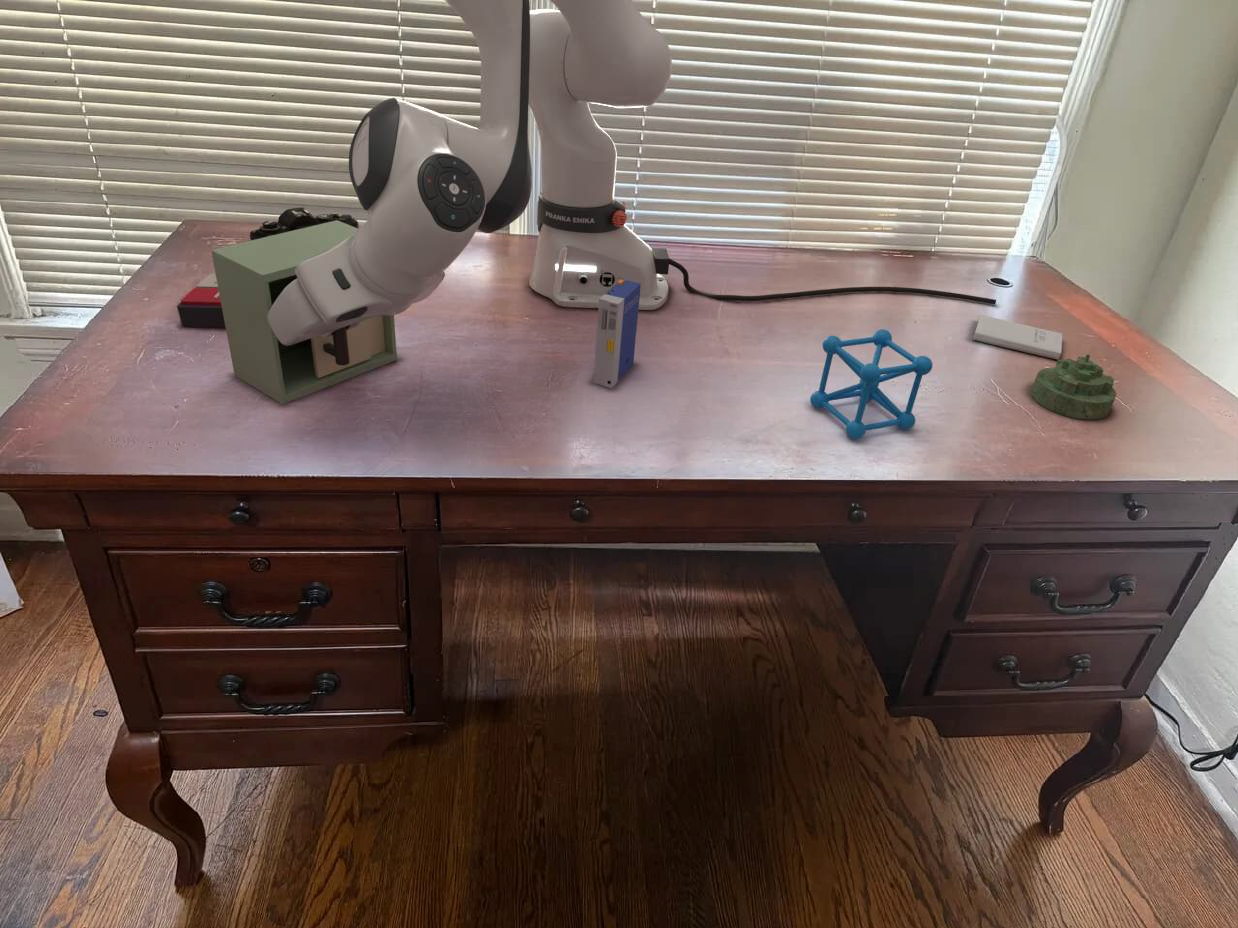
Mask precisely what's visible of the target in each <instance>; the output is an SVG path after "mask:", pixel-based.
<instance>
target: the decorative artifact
mask: <svg viewBox="0 0 1238 928" xmlns="http://www.w3.org/2000/svg"><path fill="white" fill-rule="evenodd" d="M1090 357H1091V354H1089V353H1087V354H1085V356H1078V357H1077V359H1076V360H1073V359H1072V358H1066V359H1059V360H1057V361H1056V364H1055V366H1054V367H1045V368H1042V369H1040V370H1039V371H1038V372H1037V374H1036V376H1035V379H1034V381H1033V384H1032V387H1031V389H1030V395H1031V397H1032V398H1033V400H1035V401H1036V402H1037V403H1038V404H1039V405H1040V406H1042V407H1044V408H1045V409H1047V410H1049V411H1052V412H1054V413H1056V414H1059V415H1061V416H1065V417H1068V418H1074V419H1078V420H1079V419H1080V420H1090V421H1093V420H1100V419H1103V418H1105V417H1107V416H1108V415H1109V413H1110V411H1111V408H1112V407H1113V404H1114V402H1115V400H1116V397H1117V391H1116V390H1115V388H1114V387H1113V386H1114V383H1115V380H1114V378H1113V376H1111V375H1105V373H1104V368H1103V367H1101V366H1100V365H1099V364H1098V363H1095V362H1094V361H1093V360H1091V359H1090Z"/></svg>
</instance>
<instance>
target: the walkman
mask: <svg viewBox="0 0 1238 928" xmlns="http://www.w3.org/2000/svg"><path fill="white" fill-rule="evenodd" d="M640 288H641V283H636V282H632V281H627V280H622V279H620V280H619V281H618V282H617V284H616V285H614V286H613V287H612V288H611V289H610V290H609V291H607V292H606V293H605V294H604V295H603V296H602V297H601V298H599V306H598V308H597V323H596V324H597V325H596V336H595V337H596V338H595V352H594V353H595V354H594V367H593V368H594V369H593V380H592V381H593V384H595V385H600V386H602V387H605V388H609V389H613V388H614V386H615V385H616V384H618V382H619V381H620V380H621V378H623V376H624V375H625V374H626V373H627V372H628V371H629V370H631V368H632V367H633V366H634V363H635V361H634V360H635V350H636V341H637V328H638V320H639V319H638V318H639V310H638V309H639V299H640Z"/></svg>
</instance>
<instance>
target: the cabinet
mask: <svg viewBox="0 0 1238 928" xmlns="http://www.w3.org/2000/svg"><path fill="white" fill-rule="evenodd" d="M358 229H359V228H358ZM358 229H357V228H355V227H353V226H350V225H348V224H345V223H343V222H340V221H338V220H336V221H332V222H328V223H323V224H319V225H315V226H311V227H306V228H302V229H298V230H294V231H290V232H285V233H281V234H277V235H273V236H268V237H264V238H260V239H256V240H251V239H250V240H247V241H243V242H239V243H234V244H230V245H226V246H223V247H218V248H214V249H211V250H210V252H211V257H212V262H213V268H214V274H216V279H217V284H218V290H219V295H220V300H221V305H222V311H223V316H224V321H225V327H224V328H225V333H226V337H227V342H228V347H229V352H230V358H231V364H232V368H233V374H234V376H235V377H236V378H238V379H239V380H241V381H243V382H244V383H246V384H247V385H249V386H251V387H253V388H255V389H256V390H257V391H259V392H262V393H263V394H264V395H266V396H267V397H269V398H271V399H273V400H275V401H276V402H278V403H280V404H281V405H286V404H287V403H290V402H292V401H296V400H298V399H301V398H303V397H306V396H308V395H311V394H314V393H316V392H318V391H321V390H324V389H326V388H328V387H332V386H334V385H336V384H339V383H341V382H345V381H346V380H349V379H352V378H354V377H357V376H359V375H363V374H365V373H367V372H370V371H373V370H375V369H377V368H380V367H383V366H385V365H387V364H391V363H394V362H395V361H397V360H398V355H397V353H398V352H397V341H396V339H397V338H396V325H395V324H396V323H395V315H378V316H375V317H372V318H369V319H368V327H369V339H370V350H371V359H368V360H365V361H363V362H360V363H357V364H355V365H352V366H350V367H347V368H344V369H342V370H339V371H336V372H334V373H331V374H328V375H326V376H323V377H320V378H317V377H316V376H315V368H314V360H313V353H312V345H311V338H310V339H307V340H304V341H301V342H298V343H295V344H293V345H289V346H286V345H284V344H282V343H281V342H280V341H279V340H278V338H277V337H276V335H275V334H274V332H273V330H272V329H271V327H270V325H269V322H268V319H267V315H268V312H269V310H270V309H271V307H272V305H273V304H274V302H275V301H276V299H277V298H278V296H279V295H280V294H281V292H282V291H283V290H284V289H285V288H286V287H287V286H288V285H289V284H290V283H291V282H292V281H294V280H295V279H297V275H296V273H295V269H296V268H297V266H298V265H299V264H300V263H301V262H303V261H305V260H307V259H310V258H311V257H314V256H316V255H318V254H320V253H323V252H325V251H327V250H329V249H331V248H333V247H335V246H336V245H338V244H339V243H341V242H342V241H343V240H345V239H346V238H348V237H349V236H351V235H353V236H354V235H355V233H356V232H357V231H358Z"/></svg>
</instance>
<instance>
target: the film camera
mask: <svg viewBox="0 0 1238 928" xmlns="http://www.w3.org/2000/svg"><path fill="white" fill-rule="evenodd" d="M336 220H338V221H340V222H343V223H345V224H348V225H350V226H353V227H355V228H357V229H359V221H358V220H357V219H355V218H353V217H352V215H350V214H341V215H339V214H338V213H336V212H332V213H321V214H318V215H317V216H314V215H313V214H311V213H310V211H308V210H307V209H306V208H305V207H292V208H288V209H285V210H284V211H283V212H282V213H280V215H279V217H278V219H277V221H272V220H271V221H270V220H266V221H263V222H262V223H261V224H262V225H260V226H259V228H257V229H253V230H251V231H250V232H249V238H250V241H251V240H256V239H260V238H264V237H268V236H273V235H277V234H281V233H285V232H290V231H294V230H298V229H302V228H306V227H311V226H315V225H319V224H323V223H328V222H332V221H336Z"/></svg>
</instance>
